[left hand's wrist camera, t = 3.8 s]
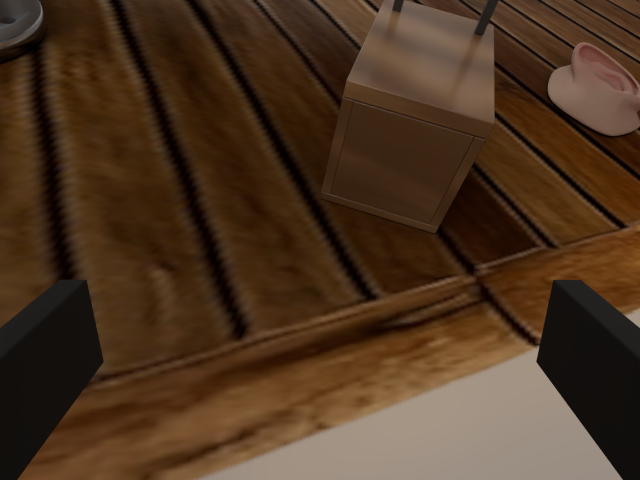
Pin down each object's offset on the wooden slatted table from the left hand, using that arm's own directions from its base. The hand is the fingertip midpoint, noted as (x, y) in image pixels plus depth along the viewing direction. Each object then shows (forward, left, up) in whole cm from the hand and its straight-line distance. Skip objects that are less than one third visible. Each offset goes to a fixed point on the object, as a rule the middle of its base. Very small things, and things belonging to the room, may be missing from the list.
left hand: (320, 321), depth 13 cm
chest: (-18, +19, -13) cm, 29 cm away
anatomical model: (-20, +50, -13) cm, 55 cm away
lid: (-18, +19, -4) cm, 27 cm away
